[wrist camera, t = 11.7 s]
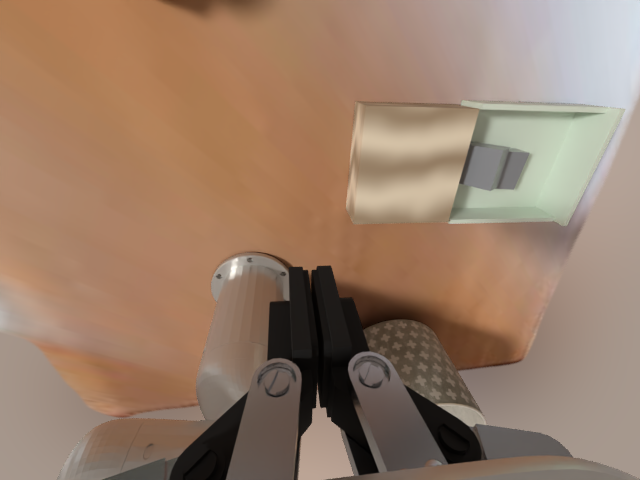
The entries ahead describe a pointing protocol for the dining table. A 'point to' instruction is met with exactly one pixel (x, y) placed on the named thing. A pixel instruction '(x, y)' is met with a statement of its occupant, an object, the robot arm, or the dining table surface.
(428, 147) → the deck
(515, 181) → the tile rear
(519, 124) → the tray
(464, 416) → the planter
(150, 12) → the dining table surface
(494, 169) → the tile front
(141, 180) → the dining table surface
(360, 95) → the dining table surface
